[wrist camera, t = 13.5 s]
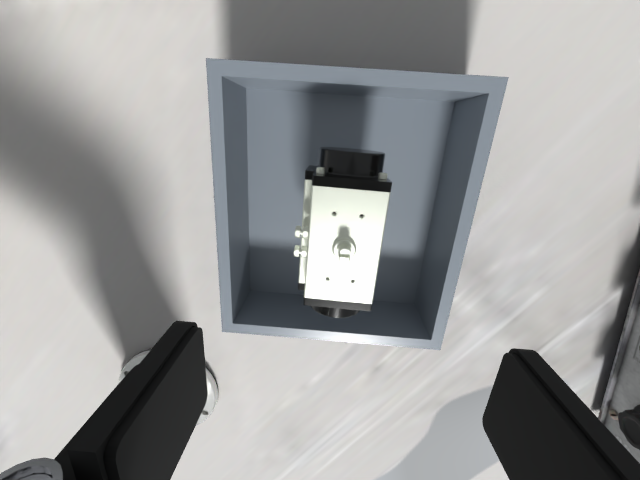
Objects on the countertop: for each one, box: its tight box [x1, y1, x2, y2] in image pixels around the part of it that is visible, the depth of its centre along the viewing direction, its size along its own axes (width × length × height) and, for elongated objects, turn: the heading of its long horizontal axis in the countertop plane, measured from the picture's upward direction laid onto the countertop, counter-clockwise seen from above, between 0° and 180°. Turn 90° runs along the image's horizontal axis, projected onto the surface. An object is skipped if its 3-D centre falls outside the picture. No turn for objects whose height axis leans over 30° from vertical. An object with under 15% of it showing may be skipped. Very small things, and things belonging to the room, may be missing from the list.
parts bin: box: [206, 58, 508, 350], centre depth 27 cm, size 22×20×7 cm
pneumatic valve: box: [294, 147, 392, 318], centre depth 23 cm, size 6×12×12 cm, turn 175°
